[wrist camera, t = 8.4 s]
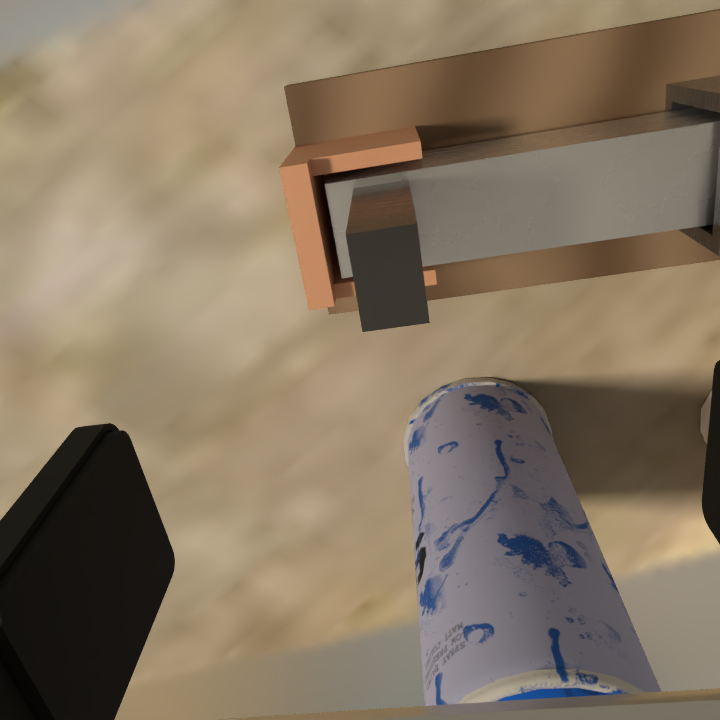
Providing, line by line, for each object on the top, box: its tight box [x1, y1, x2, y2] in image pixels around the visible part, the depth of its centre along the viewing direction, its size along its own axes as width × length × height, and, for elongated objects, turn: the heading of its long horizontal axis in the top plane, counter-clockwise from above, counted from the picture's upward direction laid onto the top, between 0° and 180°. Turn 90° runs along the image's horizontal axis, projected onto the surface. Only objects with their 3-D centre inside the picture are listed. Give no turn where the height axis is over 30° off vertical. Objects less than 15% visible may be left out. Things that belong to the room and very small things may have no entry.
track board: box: [284, 9, 720, 314], centre depth 27 cm, size 27×10×1 cm, turn 99°
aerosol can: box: [403, 377, 661, 706], centre depth 26 cm, size 8×8×20 cm
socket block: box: [279, 126, 437, 310], centre depth 26 cm, size 5×5×5 cm
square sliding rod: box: [325, 107, 720, 332], centre depth 22 cm, size 16×4×10 cm, turn 99°
